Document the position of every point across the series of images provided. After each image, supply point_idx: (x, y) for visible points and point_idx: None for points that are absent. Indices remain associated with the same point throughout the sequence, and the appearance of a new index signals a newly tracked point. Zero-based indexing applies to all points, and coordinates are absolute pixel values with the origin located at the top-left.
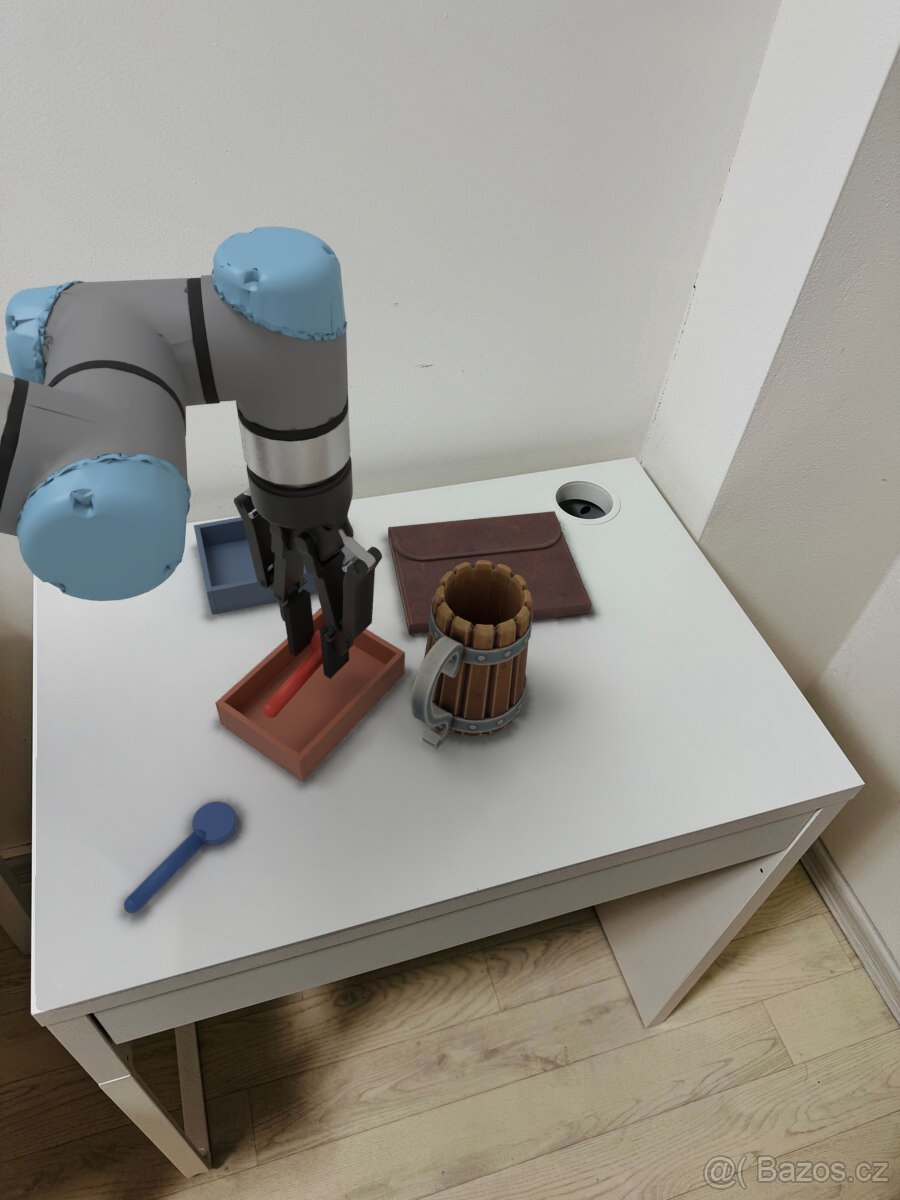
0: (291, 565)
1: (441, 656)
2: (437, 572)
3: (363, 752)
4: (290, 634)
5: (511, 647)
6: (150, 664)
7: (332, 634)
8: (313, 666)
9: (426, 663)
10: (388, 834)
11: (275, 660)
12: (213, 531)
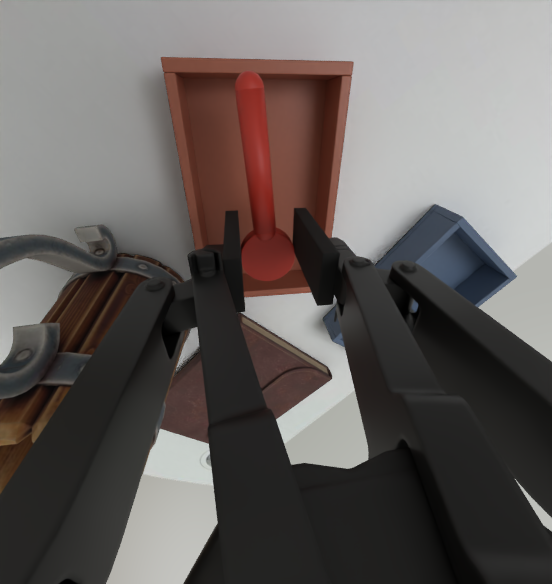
0: (366, 360)
1: None
2: (263, 372)
3: (155, 167)
4: (309, 225)
5: None
6: (473, 87)
7: (198, 266)
8: (253, 209)
9: None
10: (12, 77)
11: (325, 194)
12: (488, 283)
